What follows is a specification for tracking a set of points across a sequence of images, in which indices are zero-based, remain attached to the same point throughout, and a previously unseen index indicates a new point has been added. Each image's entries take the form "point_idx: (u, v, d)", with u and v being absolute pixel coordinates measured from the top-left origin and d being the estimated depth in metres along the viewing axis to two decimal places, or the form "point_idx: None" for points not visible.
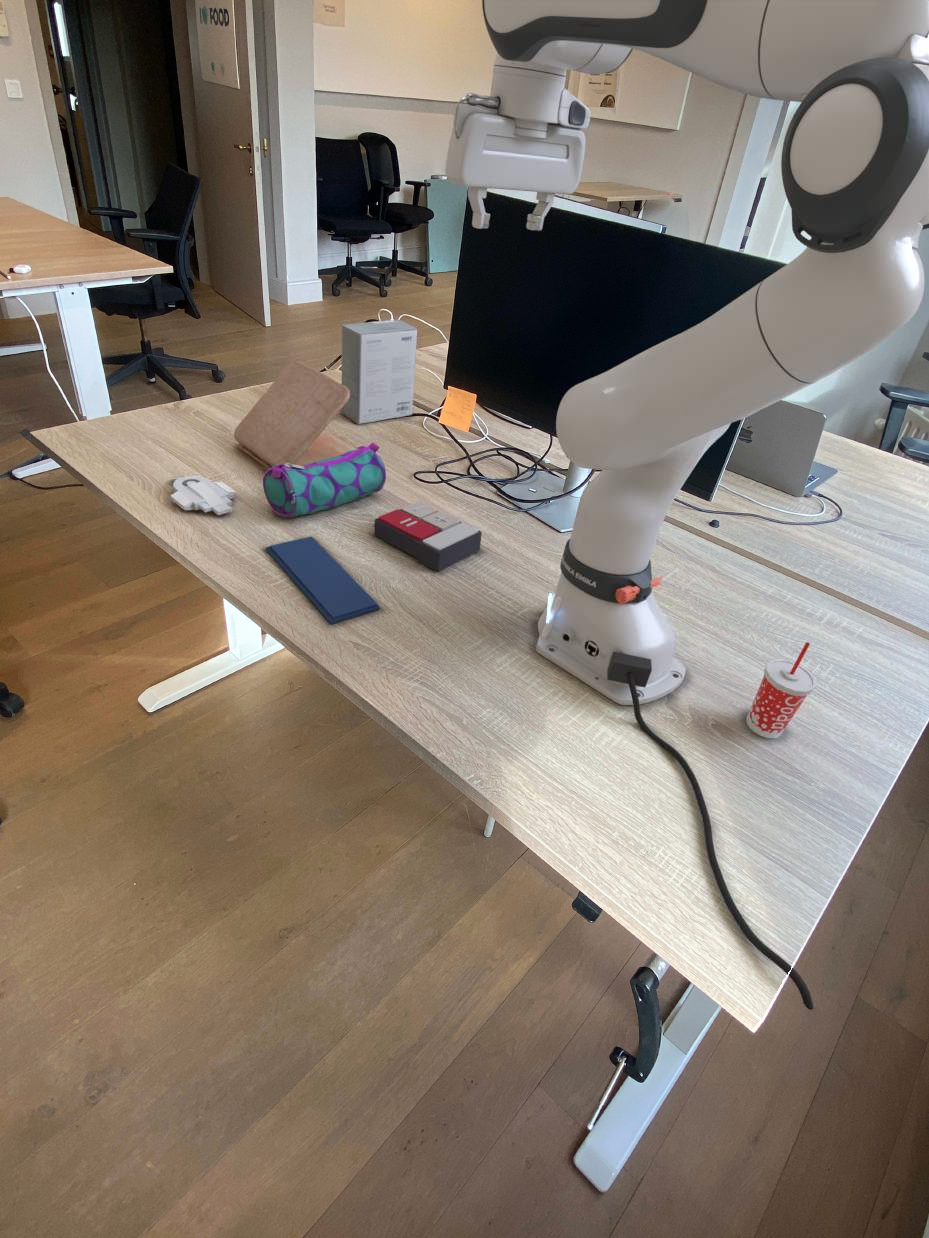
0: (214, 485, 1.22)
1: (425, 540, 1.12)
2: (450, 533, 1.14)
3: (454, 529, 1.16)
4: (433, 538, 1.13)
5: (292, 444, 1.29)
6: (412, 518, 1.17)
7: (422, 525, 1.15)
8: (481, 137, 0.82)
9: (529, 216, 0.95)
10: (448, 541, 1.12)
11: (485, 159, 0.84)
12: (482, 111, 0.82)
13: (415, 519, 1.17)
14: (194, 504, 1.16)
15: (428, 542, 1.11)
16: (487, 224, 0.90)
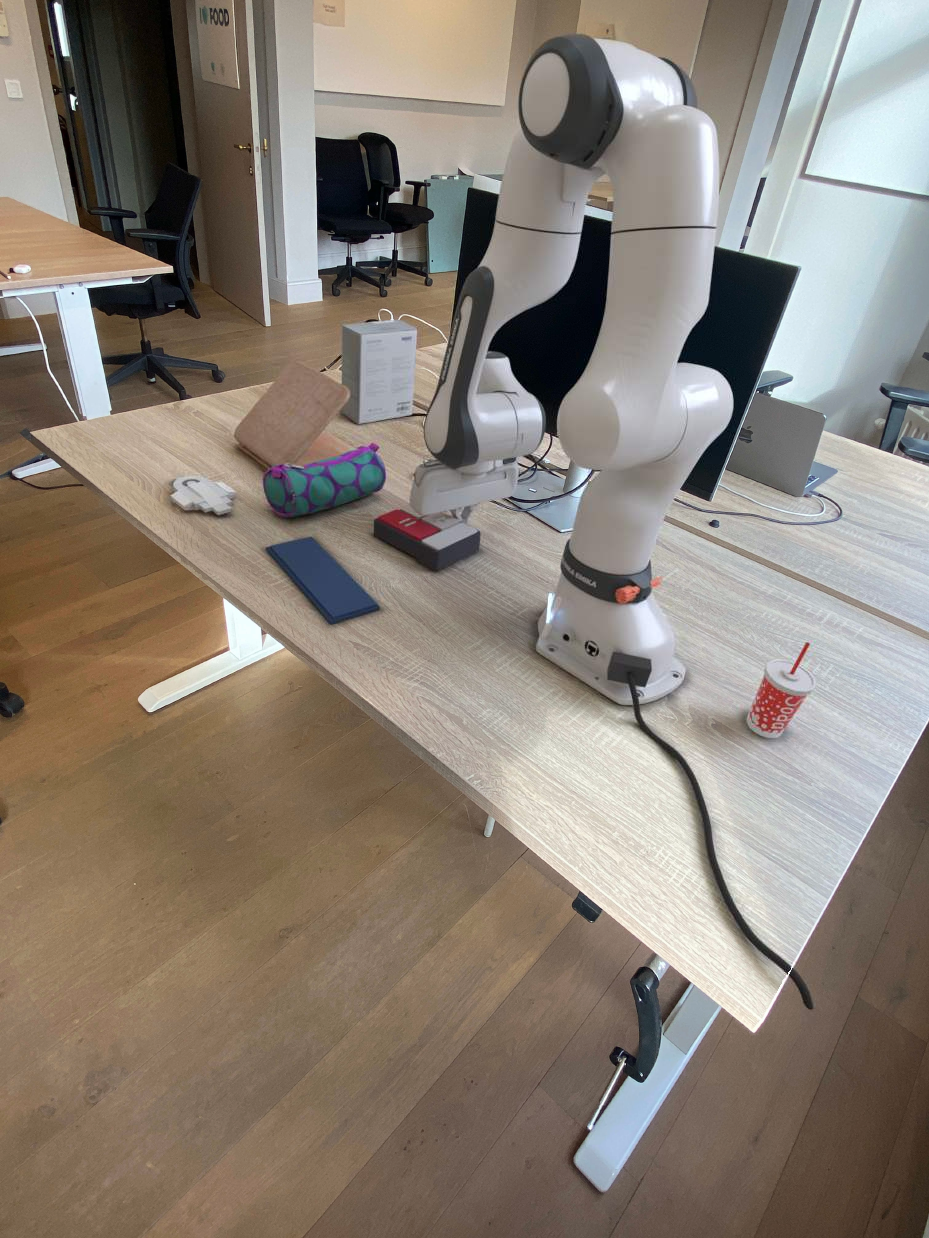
0: (214, 485, 1.22)
1: (424, 540, 1.12)
2: (449, 533, 1.14)
3: (453, 529, 1.16)
4: (432, 538, 1.13)
5: (292, 444, 1.29)
6: (411, 518, 1.17)
7: (421, 525, 1.15)
8: (435, 487, 1.11)
9: None
10: (447, 541, 1.12)
11: (439, 497, 1.12)
12: (436, 468, 1.10)
13: (414, 519, 1.17)
14: (194, 504, 1.16)
15: (427, 542, 1.11)
16: None
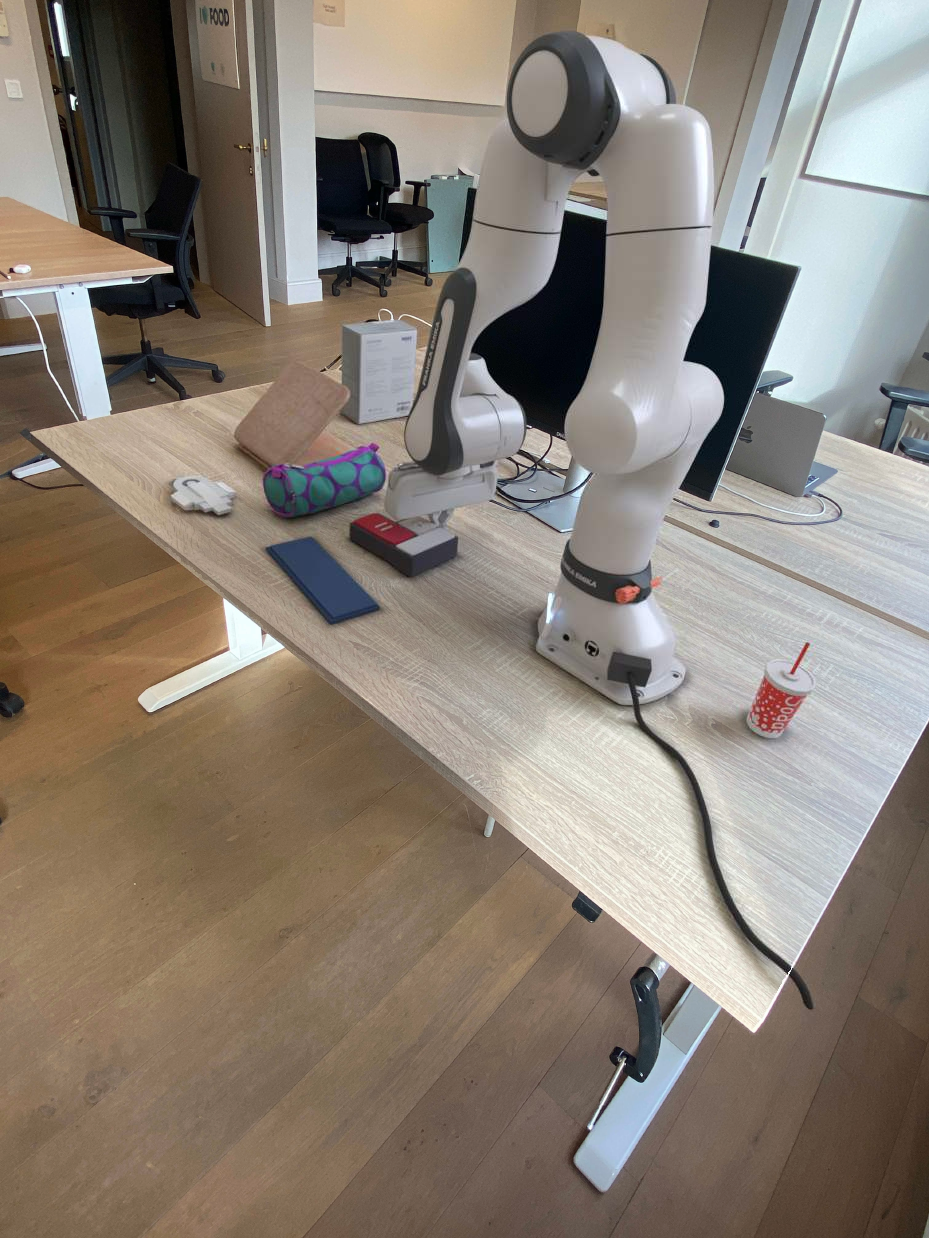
0: (214, 485, 1.22)
1: (399, 545, 1.09)
2: (425, 538, 1.12)
3: (430, 534, 1.14)
4: (407, 543, 1.10)
5: (292, 444, 1.29)
6: (388, 522, 1.15)
7: (397, 530, 1.13)
8: (409, 491, 1.08)
9: None
10: (422, 546, 1.10)
11: (414, 501, 1.10)
12: (410, 471, 1.08)
13: (391, 523, 1.15)
14: (194, 504, 1.16)
15: (402, 547, 1.09)
16: None
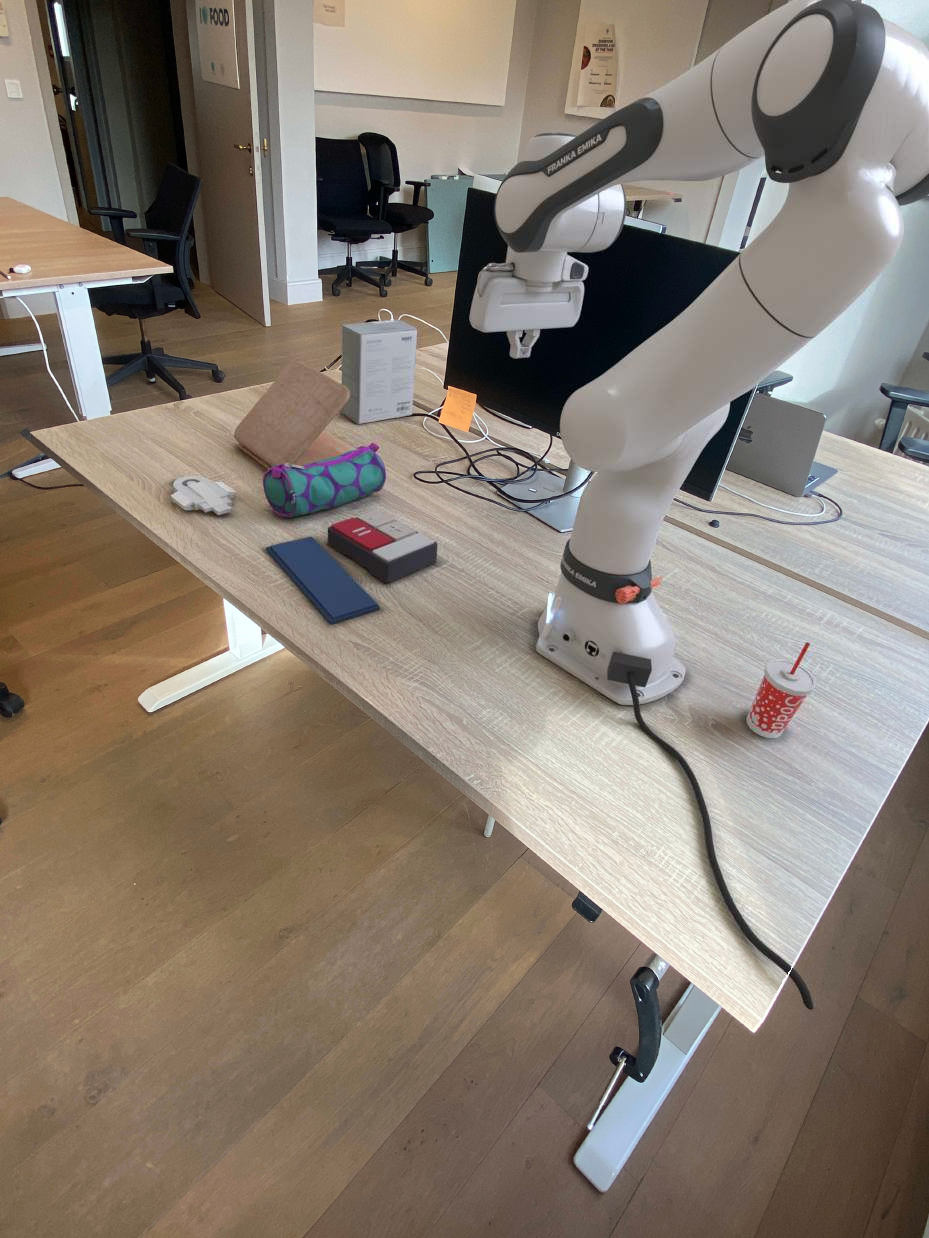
0: (214, 485, 1.22)
1: (375, 550, 1.07)
2: (403, 544, 1.10)
3: (408, 539, 1.11)
4: (384, 548, 1.08)
5: (292, 444, 1.29)
6: (366, 527, 1.13)
7: (375, 535, 1.11)
8: (499, 296, 1.02)
9: None
10: (399, 552, 1.08)
11: (502, 311, 1.03)
12: (500, 275, 1.01)
13: (369, 528, 1.13)
14: (194, 504, 1.16)
15: (378, 553, 1.07)
16: (522, 355, 1.11)
